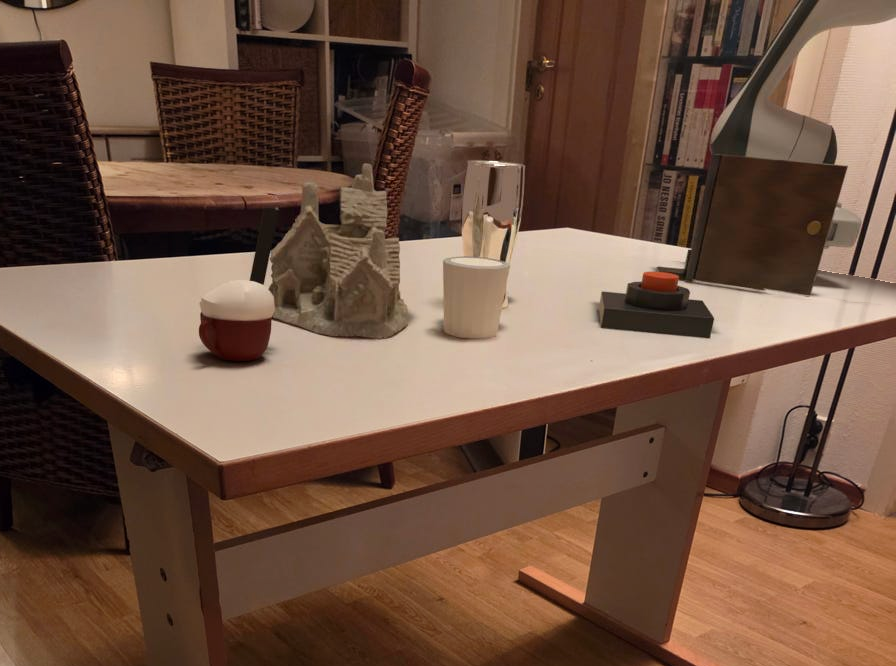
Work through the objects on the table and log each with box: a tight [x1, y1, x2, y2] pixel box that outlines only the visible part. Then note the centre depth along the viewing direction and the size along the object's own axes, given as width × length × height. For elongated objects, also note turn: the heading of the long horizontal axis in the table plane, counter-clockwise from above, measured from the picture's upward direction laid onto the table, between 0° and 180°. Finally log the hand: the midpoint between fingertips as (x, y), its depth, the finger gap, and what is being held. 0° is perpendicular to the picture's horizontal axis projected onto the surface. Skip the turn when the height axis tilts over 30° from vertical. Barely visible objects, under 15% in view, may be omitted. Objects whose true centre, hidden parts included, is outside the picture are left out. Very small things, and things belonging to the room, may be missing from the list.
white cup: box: [442, 255, 511, 339], centre depth 89 cm, size 7×7×7 cm
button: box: [641, 271, 680, 292], centre depth 98 cm, size 4×4×2 cm
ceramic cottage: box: [268, 163, 409, 340], centre depth 89 cm, size 16×16×15 cm
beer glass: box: [460, 159, 526, 310], centre depth 100 cm, size 7×7×15 cm
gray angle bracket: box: [655, 249, 693, 282], centre depth 128 cm, size 5×4×4 cm
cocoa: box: [198, 205, 280, 362], centre depth 75 cm, size 10×6×12 cm, turn 126°
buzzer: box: [598, 281, 715, 339], centre depth 99 cm, size 12×10×4 cm
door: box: [685, 154, 849, 298], centre depth 118 cm, size 18×2×16 cm, turn 61°
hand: (793, 232), depth 118 cm, fingers closed
